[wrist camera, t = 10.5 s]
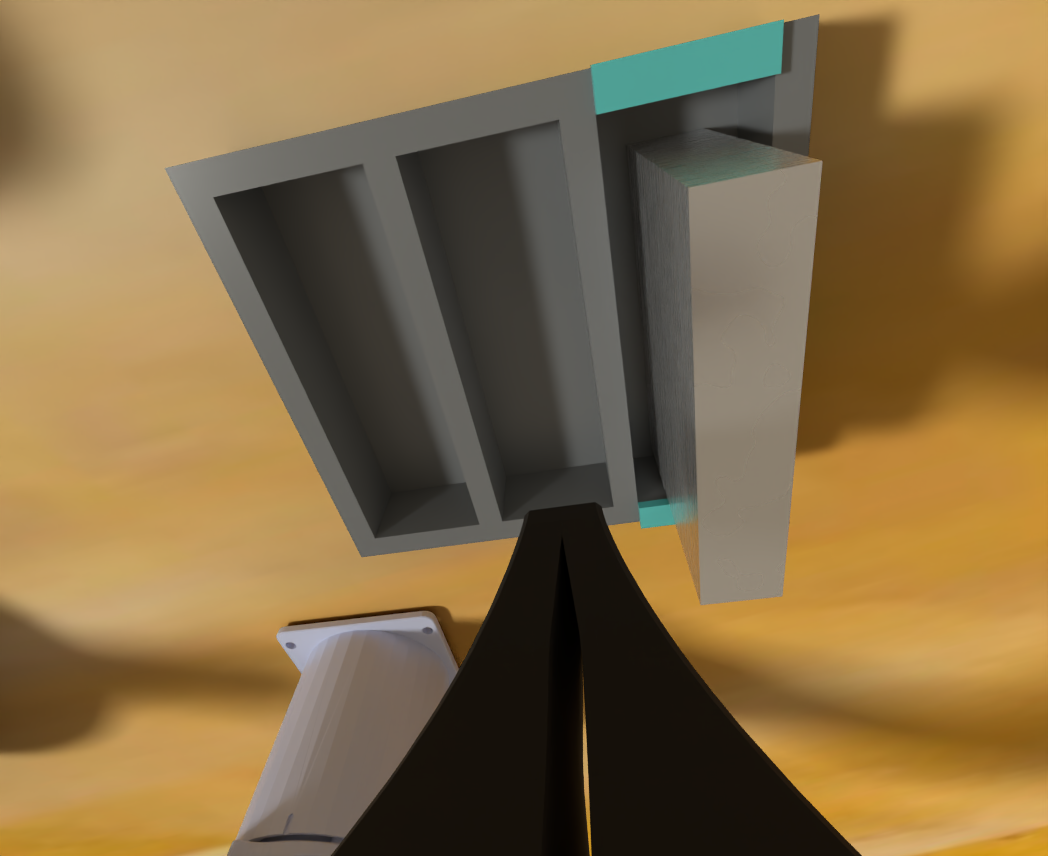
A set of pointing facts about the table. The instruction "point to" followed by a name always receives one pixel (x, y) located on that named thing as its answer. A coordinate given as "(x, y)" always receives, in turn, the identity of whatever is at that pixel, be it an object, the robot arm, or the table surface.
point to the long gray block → (725, 343)
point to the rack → (478, 284)
